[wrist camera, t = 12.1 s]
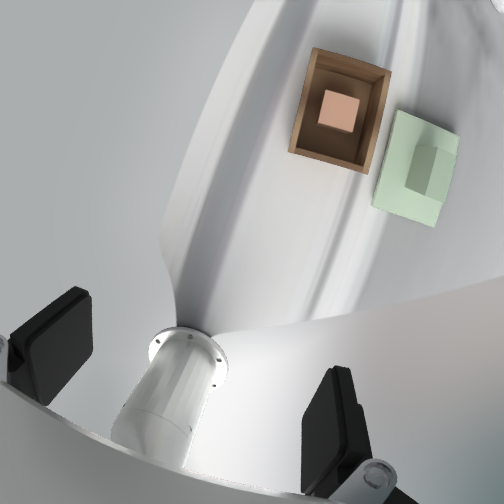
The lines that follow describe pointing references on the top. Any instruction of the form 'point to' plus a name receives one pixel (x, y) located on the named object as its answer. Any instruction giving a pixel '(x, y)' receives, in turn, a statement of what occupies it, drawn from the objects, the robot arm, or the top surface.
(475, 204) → the top surface
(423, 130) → the mint green stepped block
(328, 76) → the box
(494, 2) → the unicorn horn
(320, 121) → the block
